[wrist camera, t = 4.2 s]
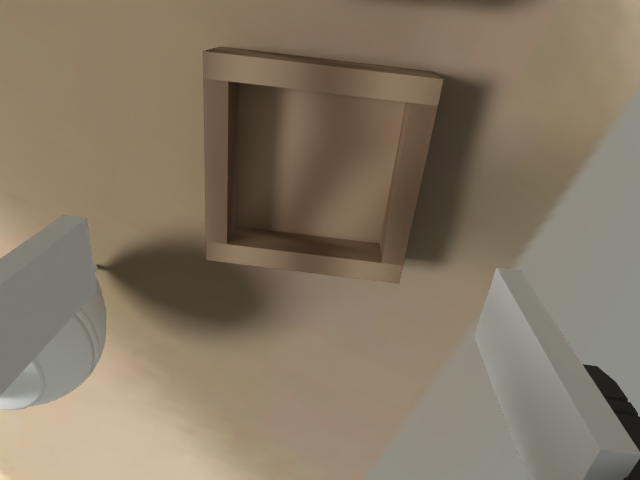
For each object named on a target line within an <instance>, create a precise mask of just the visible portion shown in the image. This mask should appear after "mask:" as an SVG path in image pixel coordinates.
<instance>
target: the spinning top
mask: <svg viewBox="0 0 640 480" xmlns="http://www.w3.org/2000/svg"><path fill="white" fill-rule="evenodd" d="M97 270H98V266H96V265H94V271H95V272H96V271H97ZM95 277H96V276H95ZM96 284H97V291H96V292H95V293H94V294H93V295H92V296H91V298H90V299H89V300H88V301H87V302H86V303H85V304H84V305H83V306H82V307H81V308H80V309H79V311H78V312H77V313H76V314H75V315H74V316H73V317H72V318H71V319H70V320H69V321H68V323H67V324H66V325H65V326H64V327H63V328H62V329H61V330H60V331H59V332H58V333H57V334H56V336H55V337H54V338H53V339H52V340H51V341H50V342H49V343H48V344H47V345H46V346H45V348H44V349H43V350H42V351H41V352H40V353H39V354H38V355H37V356H36V357H35V358H34V360H33V361H32V362H31V363H30V364H29V365H28V366H27V367H26V368H25V369H24V370H23V371H22V373H21V374H20V375H19V376H18V377H17V378H16V379H15V380H14V381H13V382H12V383H11V385H10V386H9V387H8V388H7V389H6V390H5V391H4V392H3V393H2V394H1V395H0V409H4V410H18V409H24V408H27V407H31V406H36V405H41V404H44V403H48V402H51V401H54V400H56V399H58V398H61V397H63V396H65V395H66V394H68V393H70V392H71V391H73V390H74V389H76V388H77V387H78V386H80V385H81V384H82V383H83V382H84V381H85V380H86V379H87V378H88V377H89V375H90V374H91V373H92V372H93V370H94V368H95V367H96V365H97V363H98V361H99V359H100V357H101V355H102V352H103V348H104V344H105V337H106V308H105V304H104V299H103V295H102V291H101V288H100V285H99V282H98V280H97V278H96Z"/></svg>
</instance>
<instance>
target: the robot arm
mask: <svg viewBox="0 0 640 480" xmlns="http://www.w3.org/2000/svg"><path fill="white" fill-rule="evenodd" d="M96 291H97V284H96V277H95V271H94V264H93V257H92V250H91V244H90V237H89V230H88V223H87V218H83V217H75V216H66V215H62V216H61V217H60V218H58V219H57V220H55V221H54V222H52V223H51V224H50V225H48V226H47V227H45V228H44V229H42V230H41V231H40V232H38V233H37V234H35V235H34V236H32V237H31V238H30V239H28V240H27V241H25V242H24V243H22V244H21V245H20V246H18V247H17V248H15V249H14V250H12V251H11V252H10V253H8V254H7V255H5V256H4V257H2V258H1V259H0V395H1V394H2V393H3V392H4V391H5V390H6V389H7V388H8V387H9V386H10V385H11V383H12V382H13V381H14V380H15V379H16V378H17V377H18V376H19V375H20V374H21V373H22V371H23V370H24V369H25V368H26V367H27V366H28V365H29V364H30V363H31V362H32V361H33V360H34V358H35V357H36V356H37V355H38V354H39V353H40V352H41V351H42V350H43V349H44V348H45V346H46V345H47V344H48V343H49V342H50V341H51V340H52V339H53V338H54V337H55V336H56V334H57V333H58V332H59V331H60V330H61V329H62V328H63V327H64V326H65V325H66V324H67V323H68V321H69V320H70V319H71V318H72V317H73V316H74V315H75V314H76V313H77V312H78V311H79V309H80V308H81V307H82V306H83V305H84V304H85V303H86V302H87V301H88V300H89V299H90V298H91V296H92V295H93V294H94V293H95V292H96ZM474 337H475V340H476V342H477V345H478V348H479V351H480V353H481V356H482V358H483V361H484V364H485V366H486V369H487V371H488V374H489V377H490V380H491V382H492V385H493V387H494V390H495V393H496V395H497V398H498V401H499V403H500V406H501V409H502V411H503V414H504V416H505V419H506V422H507V424H508V427H509V430H510V432H511V435H512V437H513V440H514V443H515V446H516V448H517V451H518V454H519V456H520V459H521V462H522V464H523V467H524V470H525V472H526V475H527V477H528V480H640V417H638V413H637V411H636V410H635V408H634V407H633V406H632V404H631V403H630V402H628V399H627V397H626V396H625V395H624V393H623V392H622V390H621V389H620V387H619V386H618V385H617V383H616V382H615V381H614V380H613V379H611V378H610V377H609V376H608V375H607V374H606V373H604V372H603V371H602V370H601V369H600V368H598V367H597V366H591V365H583V364H582V363H581V361H580V360H579V358H578V357H577V355H576V354H575V352H574V351H573V349H572V348H571V346H570V345H569V343H568V342H567V340H566V339H565V337H564V336H563V334H562V333H561V331H560V330H559V328H558V326H557V325H556V324H555V322H554V320H553V319H552V317H551V316H550V315H549V313H548V311H547V310H546V308H545V307H544V305H543V304H542V303H541V301H540V299H539V298H538V296H537V294H536V293H535V291H534V290H533V288H532V287H531V285H530V284H529V282H528V281H527V279H526V278H525V276H524V275H523V273H522V272H521V271H520V270H512V269H504V268H496V271H495V274H494V277H493V280H492V283H491V286H490V289H489V292H488V295H487V299H486V302H485V305H484V308H483V311H482V314H481V317H480V320H479V323H478V326H477V329H476V332H475V335H474Z"/></svg>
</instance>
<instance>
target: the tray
mask: <svg viewBox="0 0 640 480" xmlns="http://www.w3.org/2000/svg"><path fill="white" fill-rule="evenodd" d="M443 80H444V79H443V78H441V77H440V76H438V75H437V74H436V73H434V72H431V71H422V70H414V69H405V68H397V67H388V66H380V65H371V64H363V63H354V62H345V61H337V60H328V59H320V58H311V57H303V56H294V55H286V54H277V53H269V52H260V51H252V50H243V49H234V48H226V47H217V48H213V49H209V50H206V51H203V85H204V151H205V218H206V260H209V261H218V262H226V263H234V264H242V265H251V266H259V267H267V268H275V269H283V270H292V271H300V272H308V273H316V274H324V275H333V276H341V277H349V278H357V279H365V280H374V281H382V282H390V283H398V284H399V282H400V278H401V273H402V268H403V264H404V259H405V255H406V250H407V245H408V241H409V236H410V232H411V227H412V223H413V218H414V213H415V209H416V204H417V200H418V195H419V190H420V186H421V181H422V177H423V172H424V167H425V163H426V158H427V154H428V149H429V145H430V140H431V135H432V131H433V126H434V122H435V117H436V112H437V108H438V103H439V99H440V94H441V89H442V85H443Z"/></svg>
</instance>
